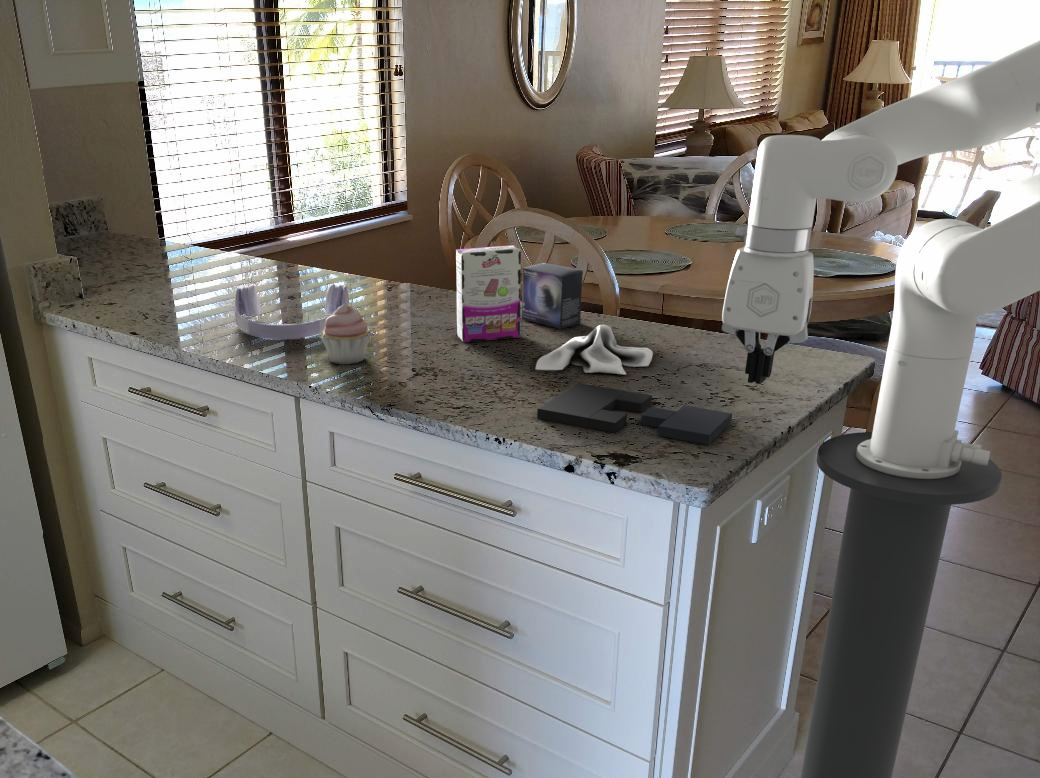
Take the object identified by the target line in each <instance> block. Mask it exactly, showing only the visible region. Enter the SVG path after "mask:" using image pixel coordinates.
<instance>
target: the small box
mask: <svg viewBox="0 0 1040 778" xmlns="http://www.w3.org/2000/svg"><path fill="white" fill-rule="evenodd" d="M583 275H584V270H583V269H579V268H573V267H569V266H568V267H567V266H561V265H557V264H552V263H547V262H542V263H537V264H533V265H529V266H525V267H522V275H521V276H522V277H521V279H522V280H521V317H520V320H525V321H529V322H532V323H535V324H540V325H543V326H548V327H550V328H555V329H559V330H562V329H565V328H568V327H572V326H575V325H579V324H581V314H582V313H581V312H582V294H583V293H582V292H583V291H582V288H583V287H582V286H583Z"/></svg>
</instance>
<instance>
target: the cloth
mask: <svg viewBox="0 0 1040 778" xmlns="http://www.w3.org/2000/svg"><path fill="white" fill-rule="evenodd" d="M653 355H654V352H653V350H651V348H648V347H633V346H621V345H619V344H617V340H616V337H615V335H614V333H613V329H612V327H611V326H610V325H607V324H599V325H597V326H596V327H595V328H594V329H592V331H590V332H589V333H588V334H587V335H583V336H575V337H573V338H571V339H569V340H568V341H567V342H566V343H564V344H562V345H561V346H559V347H558V348H556V349H553V350H552V351H551V352H549V353H547V354H545V355H542V356H541V357H540V358H539V359H537V361H536V364H535V369H534V370H536V371H563V370H564V369H565V368H566V367H567V366H568V365H569V364H570V365H572V366H579V367H582V368H583V372H584V373H585V374H588V373H589V374H593V373H603V374H617V375H625V376H626V375H627V372H626V371H625V370H624V368H623V366H624V367H633V368H636V367H649V366H650V363H651V362H652V360H653V359H652V358H653Z"/></svg>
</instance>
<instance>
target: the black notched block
mask: <svg viewBox="0 0 1040 778" xmlns="http://www.w3.org/2000/svg"><path fill="white" fill-rule="evenodd" d="M652 404H653V395H652V394H647V393H641V392H637V391H636V392H635V391H629V390H623V389H619V388H618V389H617V388H612V387H606V386H599V385H596V384H595V385H594V384H589V383H584V382H583V383H582V382H577V383H575V384H574V385H573V386H571V387H569V388H568V389H566V390H565V391H563V392H561V393H560V394H558V395H556V396H555V397H554V398H552V399H550V400H548V401H547V402H546V403H543V404H542V405H540V406H539V407H538V408H537V411H536V418H537V419H540V420H545V421H550V422H554V423H555V422H556V423H560V424H567V425H571V426H577V427H582V428H586V429H594V430H598V431H604V432H608V433H613V434H615V433H617V431H619V430H620V429H621V428H623V427H625V426H626V425H627V424H628V413H625V412H619V411H613V410H624V411H628V412H632V413H633V412H634V413H639V414H641V413H642V412H645V410H646V409H647V408H650V406H651V405H652Z"/></svg>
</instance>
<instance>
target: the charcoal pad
mask: <svg viewBox="0 0 1040 778" xmlns="http://www.w3.org/2000/svg"><path fill="white" fill-rule="evenodd" d="M732 419H733V413H732V412H726V411H721V410H714V409H708V408H702V407H697V406H691V405H686V404H685V405H682V406H681V407H680V408H679V409H678V410H673V409H666V408H662V407H655V406H651V407H649V408H648V409H647V410H646V411H643V413H642V414H641V416H640V425H641V426H647V427H652V428H657V429H658V431H657V432H658V433H657V436H659V437H663V438H668V439H673V440H679V441H684V442H688V443H689V442H690V443H693V444H699V445H700V444H701V445H705V446H709V445H710V444H711V443H712V442H713V441H715V439H716V438H717V437H718V436H720V435H721V434H722V432H724V430H726V429H727V428H728V427H729V426H730V425H731V424H732Z"/></svg>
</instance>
